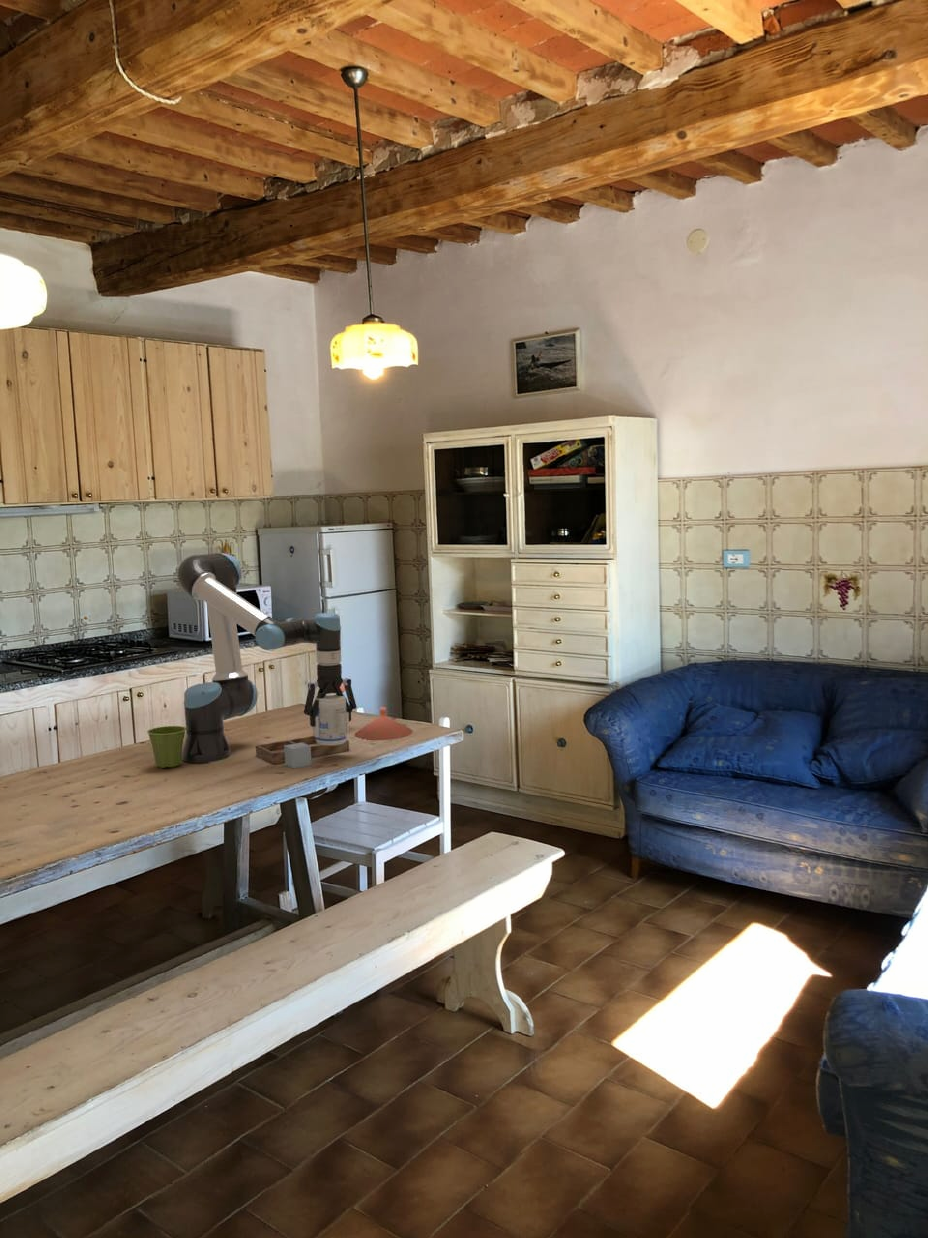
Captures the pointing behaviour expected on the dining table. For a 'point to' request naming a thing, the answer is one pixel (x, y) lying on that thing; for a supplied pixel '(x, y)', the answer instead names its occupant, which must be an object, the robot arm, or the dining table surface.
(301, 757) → the slate block
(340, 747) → the caddy
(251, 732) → the dining table surface
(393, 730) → the ceramic vessels
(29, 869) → the dining table surface
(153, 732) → the plant pot
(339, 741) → the supplement tub
